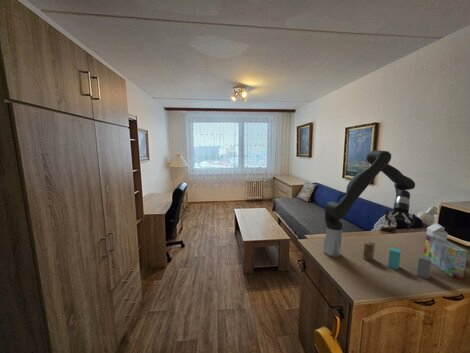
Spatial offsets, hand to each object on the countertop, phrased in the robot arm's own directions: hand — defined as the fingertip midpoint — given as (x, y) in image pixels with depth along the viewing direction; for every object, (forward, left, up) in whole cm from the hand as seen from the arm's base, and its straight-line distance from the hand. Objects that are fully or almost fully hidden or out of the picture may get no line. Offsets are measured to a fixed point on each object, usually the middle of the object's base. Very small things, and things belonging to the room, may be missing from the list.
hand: (398, 227), depth 120 cm
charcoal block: (+12, -13, -19) cm, 26 cm away
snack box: (+20, +5, -19) cm, 28 cm away
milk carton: (+18, +25, -19) cm, 36 cm away
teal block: (0, -13, -19) cm, 23 cm away
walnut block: (-12, -13, -19) cm, 26 cm away
